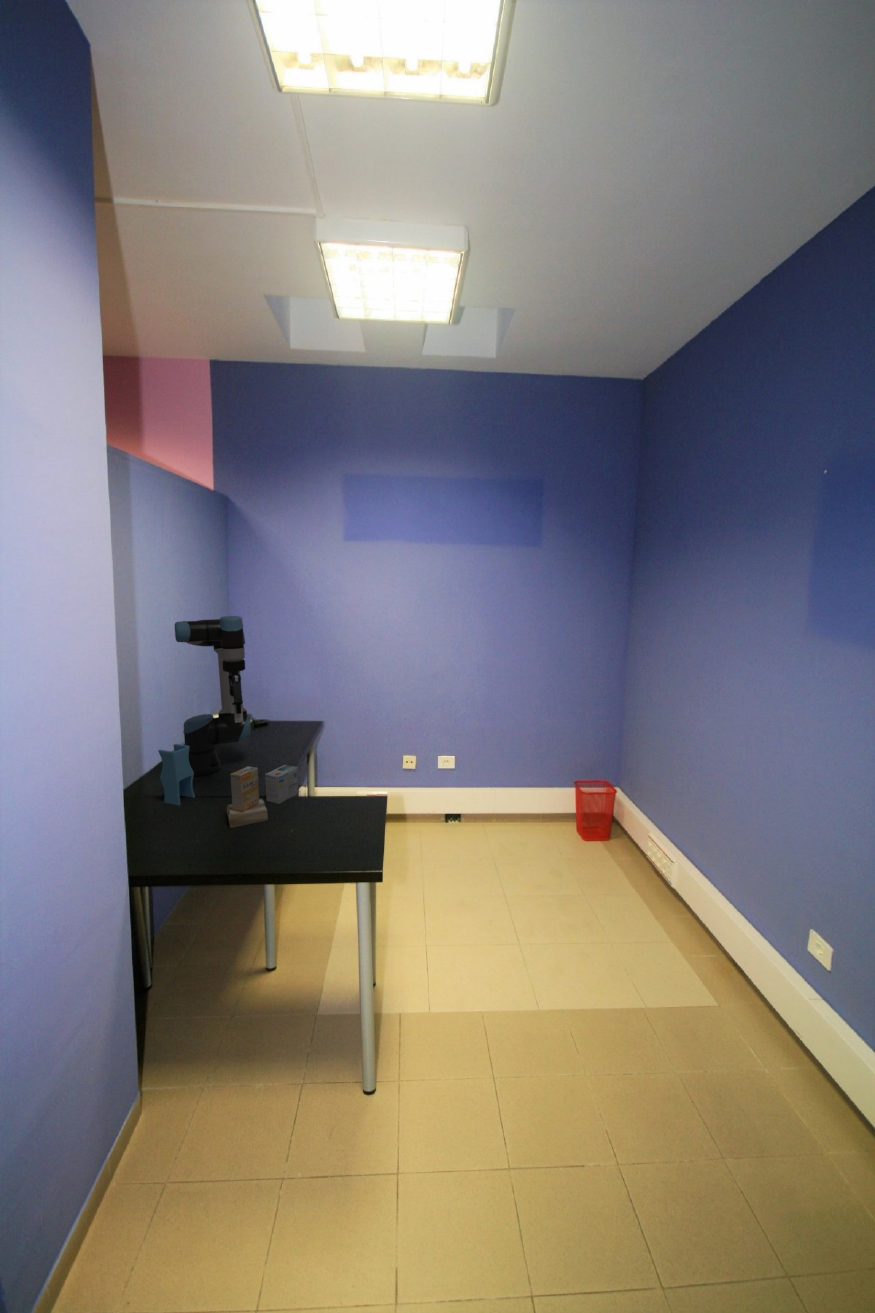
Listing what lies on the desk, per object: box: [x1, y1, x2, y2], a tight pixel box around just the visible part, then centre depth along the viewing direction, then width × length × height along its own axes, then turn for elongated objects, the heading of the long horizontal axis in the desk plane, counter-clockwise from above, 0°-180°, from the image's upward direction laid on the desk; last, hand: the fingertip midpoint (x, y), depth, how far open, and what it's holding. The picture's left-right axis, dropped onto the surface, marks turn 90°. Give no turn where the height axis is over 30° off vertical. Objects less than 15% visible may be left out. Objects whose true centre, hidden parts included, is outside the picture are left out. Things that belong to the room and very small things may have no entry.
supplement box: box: [230, 765, 260, 812], centre depth 178 cm, size 8×5×13 cm, turn 157°
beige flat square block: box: [226, 798, 269, 828], centre depth 179 cm, size 10×12×4 cm
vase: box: [157, 743, 196, 806], centre depth 192 cm, size 8×8×20 cm
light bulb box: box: [264, 764, 299, 805], centre depth 195 cm, size 11×7×11 cm, turn 154°
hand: (237, 717), depth 189 cm, fingers open, 13 cm apart
